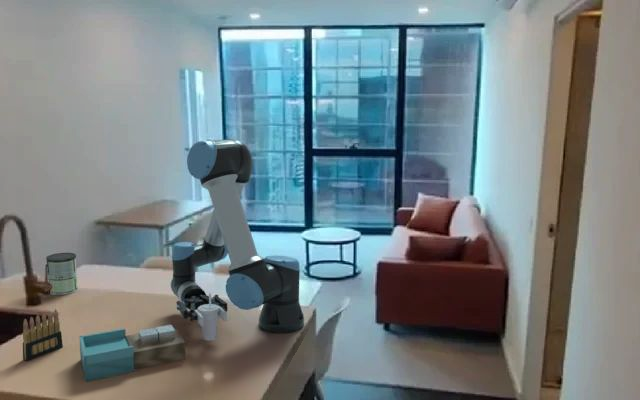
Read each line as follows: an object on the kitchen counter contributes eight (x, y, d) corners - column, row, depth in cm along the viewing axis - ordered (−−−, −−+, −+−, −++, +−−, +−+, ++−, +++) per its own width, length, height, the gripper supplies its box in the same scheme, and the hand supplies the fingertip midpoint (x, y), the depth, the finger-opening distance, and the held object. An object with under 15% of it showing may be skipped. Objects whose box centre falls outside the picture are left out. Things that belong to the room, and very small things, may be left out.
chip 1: (154, 335, 146) (154, 327, 146) (158, 341, 143) (158, 333, 142) (138, 338, 144) (138, 330, 144) (141, 344, 140) (141, 336, 140)
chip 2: (171, 332, 149) (171, 324, 148) (175, 338, 145) (175, 330, 145) (155, 335, 147) (155, 327, 146) (159, 341, 143) (159, 333, 142)
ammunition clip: (26, 361, 140) (23, 320, 138) (22, 359, 141) (19, 319, 139) (63, 347, 149) (60, 308, 147) (59, 345, 150) (56, 307, 148)
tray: (125, 350, 147) (124, 328, 146) (134, 371, 136) (133, 346, 135) (80, 359, 142) (79, 336, 140) (85, 381, 130) (83, 356, 129)
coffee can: (43, 291, 196) (41, 256, 194) (69, 284, 204) (67, 251, 202) (56, 297, 190) (54, 261, 188) (83, 290, 198) (81, 255, 196)
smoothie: (217, 342, 149) (216, 297, 147) (196, 342, 150) (194, 297, 147) (222, 333, 156) (221, 290, 154) (201, 333, 156) (200, 290, 154)
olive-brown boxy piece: (174, 342, 154) (174, 326, 153) (185, 358, 143) (184, 342, 143) (126, 352, 147) (125, 335, 146) (133, 369, 137) (132, 352, 136)
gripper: (220, 301, 172) (245, 325, 152) (162, 311, 163) (181, 338, 143) (219, 280, 171) (244, 301, 151) (162, 289, 162) (180, 312, 142)
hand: (213, 319), depth 147 cm, fingers closed on smoothie, 6 cm apart
